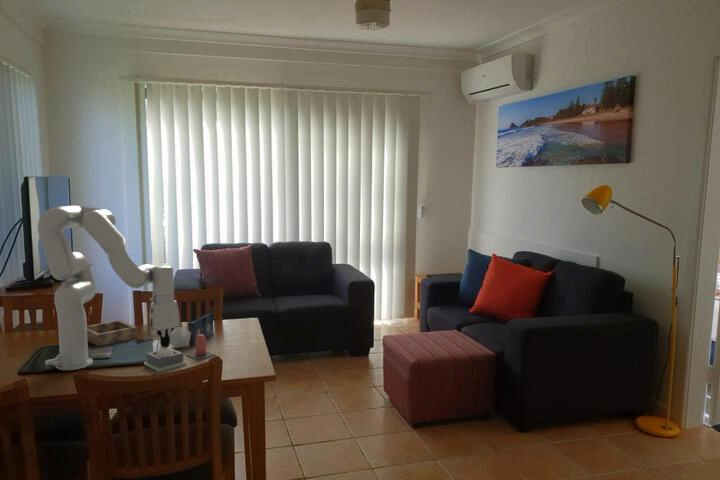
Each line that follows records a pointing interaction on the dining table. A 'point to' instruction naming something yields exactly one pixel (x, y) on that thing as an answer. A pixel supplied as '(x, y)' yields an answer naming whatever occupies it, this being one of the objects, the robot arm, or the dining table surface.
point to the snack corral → (110, 332)
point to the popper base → (164, 361)
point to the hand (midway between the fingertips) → (165, 346)
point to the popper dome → (164, 351)
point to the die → (180, 338)
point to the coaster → (202, 356)
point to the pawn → (200, 345)
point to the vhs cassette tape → (201, 328)
